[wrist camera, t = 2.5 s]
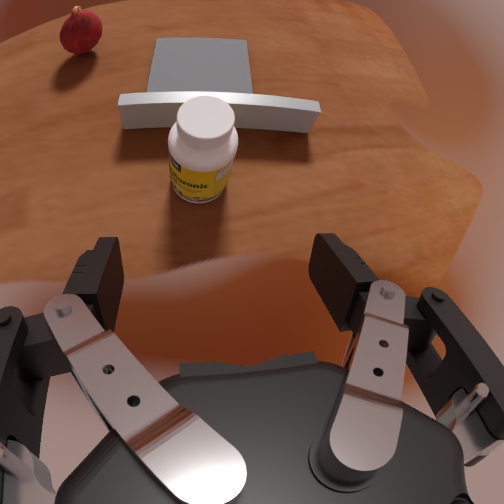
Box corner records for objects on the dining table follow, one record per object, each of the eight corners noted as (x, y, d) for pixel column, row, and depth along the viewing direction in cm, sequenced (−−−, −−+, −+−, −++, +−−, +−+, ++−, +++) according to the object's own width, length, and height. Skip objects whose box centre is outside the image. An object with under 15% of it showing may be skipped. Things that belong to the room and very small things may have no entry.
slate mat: (145, 102, 30) (145, 99, 29) (157, 40, 32) (157, 38, 32) (252, 103, 32) (253, 100, 32) (245, 43, 35) (246, 40, 34)
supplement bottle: (158, 183, 28) (149, 118, 18) (195, 146, 29) (202, 77, 20) (203, 216, 28) (211, 161, 18) (238, 176, 29) (261, 113, 20)
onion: (111, 51, 31) (105, 5, 23) (72, 71, 29) (59, 26, 21) (97, 35, 31) (91, -8, 24) (61, 53, 29) (50, 11, 22)
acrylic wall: (123, 129, 28) (117, 105, 24) (125, 118, 29) (120, 94, 25) (307, 133, 32) (321, 112, 29) (305, 122, 33) (318, 101, 29)
